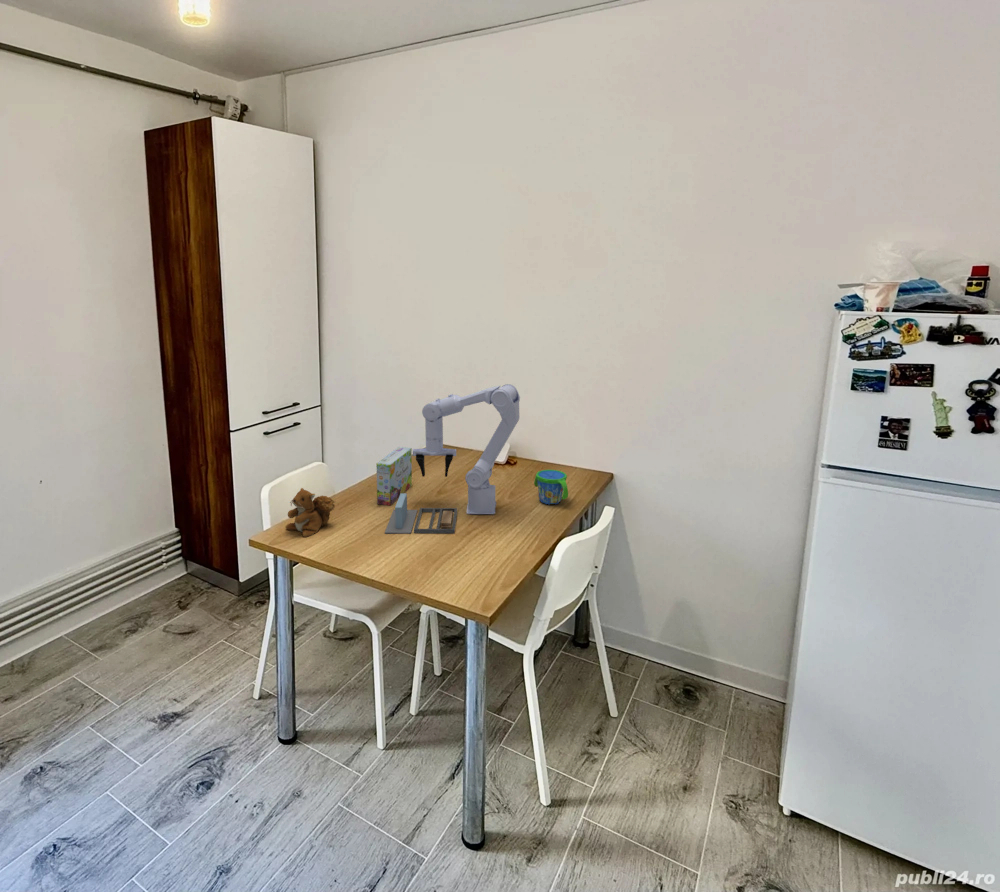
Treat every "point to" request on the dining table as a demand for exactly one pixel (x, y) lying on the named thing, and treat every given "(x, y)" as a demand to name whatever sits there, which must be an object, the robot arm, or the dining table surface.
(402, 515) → the blue-grey rectangular block
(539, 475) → the snack cup
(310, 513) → the stuffed squirrel
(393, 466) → the snack box
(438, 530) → the metal rack
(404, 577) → the dining table surface
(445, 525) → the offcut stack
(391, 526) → the charcoal mat
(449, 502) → the dining table surface
